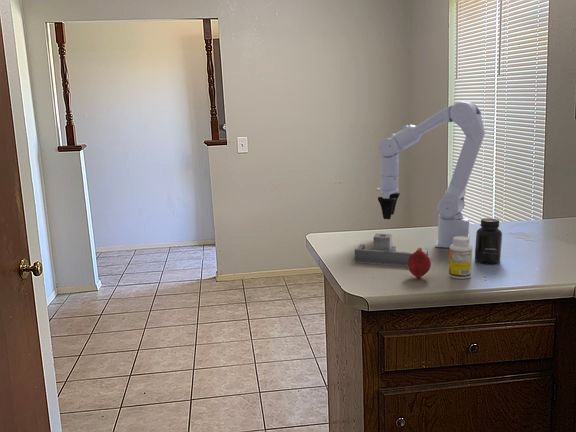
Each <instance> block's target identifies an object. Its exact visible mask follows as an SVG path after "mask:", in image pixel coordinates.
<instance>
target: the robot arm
mask: <svg viewBox="0 0 576 432" xmlns="http://www.w3.org/2000/svg"><path fill="white" fill-rule="evenodd" d="M445 123H454V124H456V125H457V126H458V127H459V128H460V129H461V131H462V132H463V134H464V136H465V139H464V142H463V144H462V147H461V150H460V153H459V157H458V158H457V162H456V165H455V168H454V170H453V172H452V173H453V174H452V177H451V180H450V181H449V185H448V187H447V189H446V190H445V193H444V195H443V197H442V199H440V200H439V202H437V205H436V207H437V208H436V210H437V213H438V222H437V223H438V225H437V227H438V228H437V240H436V243H435V247H436V248H446V249H447V248H448V249H450V245H451V244H453V238H454V237H456V236H463V237H468V238H469V239H470V237H471V236H470V235H469V233H470V231H469V230H470V218H468V217H464V215H463V213H462V211H463V210H464V208H465V203H466V202H465V196H466V188H467V185H468V182H469V180H470V177H471V175H472V172H473V168H474V166H475V163H476V160H477V158H478V154H479V152H480V149H481V148H482V147H481V146H482V144H483V140H484V138H485V135H486V133H485V132H486V131H485V127H484V122H483V118H482V112H481V110H480V109H479V108H478V105H476V104H475V103H474V102H473V101H457V102H455V103H454V104H453V105H449V106H447V107H445V108H442V109H441V110H439V111H438V112H436V113H434V114H433V115H431V116H430V117H428V118H427V119H424V120H423V121H421V122H420V123H418V124H417V125H415V124H410V125H408V124H405V125H404V126H403V127H402V129H401V130H399V131H398V132H396V133H391V134H390V137H385V138H383V139H382V140H381V141H380V142H379V144H378V151H379V154H380V182H379V183H380V187H377V188H376V192H380V193H381V195H382V196H378V197H377V200H378V204H379V205H380V208H381V214H382V217H383V219H384V220H391V218H392V215H395V210H396V205H397V201H398V199H399V197H400V195H401V193H400V192H399V190H400V189H399V178H400V177H399V170H400V169H399V167H400V160H399V159H400V153H401V152H402V151H404V150H406V149H407V148H410V147H411V146H413V145H414V144H416V143H418V142H420V140H421V137H422V135H423V134H425V133H427V132H428V131H431V130H433V129H435V128H437V127H439V126H440V125H442V124H445Z"/></svg>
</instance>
